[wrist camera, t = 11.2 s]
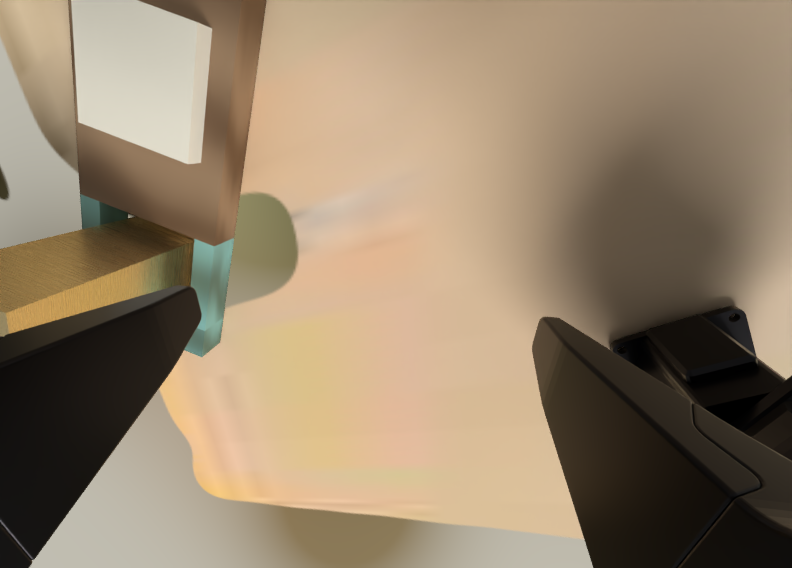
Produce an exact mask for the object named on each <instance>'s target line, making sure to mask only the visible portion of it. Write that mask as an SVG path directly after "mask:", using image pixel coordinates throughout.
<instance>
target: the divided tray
mask: <svg viewBox="0 0 792 568" xmlns="http://www.w3.org/2000/svg"><path fill="white" fill-rule="evenodd" d="M68 4H69V20H70V36H71V53H72V69H73V85H74V101H75V118H76V134H77V150H78V167H79V183H80V197H81V214H82V229H86V228H90V227H95V226H99V225H103V224H107V223H111V222H115V221H120V220H124V219H128V213H130V214H133V215H135V216H138V217H140V218H143V219H145V220H148V221H150V222H153V223H156V224H158V225H161V226H163V227H166V228H168V229H171V230H173V231H176V232H179V233H181V234H184V235H186V236H189V237H191V238H194V251H193V263H192V275H191V287H193V288H194V289H195V290H196V293H197V297H198V301H199V305H200V309H201V313H202V317H201V321H200V324H199V325H198V327H197V329H196V330H195V332H194V334H193V336H192V337H191V339H190V341H189V342H188V344H187V346H186V348H185V349H184V350H186V351H188V352H191V353H193V354H195V355H198V356H200V357H203V356H204V355H205V354H206V353H208V352H209V351H210V350H211V349H212V348H214V347H215V346H216V345H217V344H218V343H220V338H221V331H222V324H223V316H224V309H225V301H226V294H227V287H228V279H229V271H230V264H231V257H232V250H233V242H234V234H235V227H236V220H237V212H238V205H239V198H240V191H241V183H242V176H243V168H244V161H245V154H246V146H247V139H248V131H249V124H250V117H251V109H252V102H253V94H254V87H255V80H256V72H257V65H258V58H259V50H260V43H261V35H262V28H263V21H264V13H265V6H266V0H68Z"/></svg>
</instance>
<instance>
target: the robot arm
mask: <svg viewBox="0 0 792 568" xmlns="http://www.w3.org/2000/svg"><path fill="white" fill-rule="evenodd" d="M732 314H735V315H734V316H733V317H732V318H729V316H730V315H732ZM201 317H202V313H201V309H200V305H199V301H198V297H197V293H196V290H195V289H194V288H193V287H191V286H181V285H176V286H172V287H169V288H166V289H162V290H159V291H155V292H152V293H148V294H145V295H141V296H138V297H134V298H131V299H128V300H124V301H121V302H117V303H114V304H110V305H107V306H103V307H100V308H96V309H93V310H89V311H86V312H83V313H79V314H76V315H72V316H69V317H65V318H62V319H58V320H55V321H51V322H48V323H44V324H41V325H38V326H34V327H31V328H27V329H24V330H20V331H17V332H13V333H10V334H7V335H5V336H4V337H3V336H0V568H29V567H30V565H31V564H32V560H34V559H35V558H36V556H37V555H38V554H39V552H40V551H41V550H42V548H43V547H44V545H45V544H46V543H47V541H48V540H49V539H50V537H51V536H52V534H53V533H54V532H55V530H56V529H57V528H58V526H59V525H60V523H61V522H62V521H63V519H64V518H65V517H66V515H67V514H68V512H69V511H70V510H71V508H72V507H73V506H74V504H75V503H76V502H77V500H78V499H79V497H80V496H81V495H82V493H83V492H84V490H85V489H86V488H87V486H88V485H89V484H90V482H91V481H92V480H93V478H94V477H95V475H96V474H97V473H98V471H99V470H100V468H101V467H102V466H103V464H104V463H105V461H106V460H107V459H108V458H109V456H110V455H111V453H112V452H113V451H114V449H115V448H116V446H117V445H118V444H119V442H120V441H121V440H122V438H123V437H124V435H125V434H126V433H127V431H128V430H129V429H130V427H131V426H132V425H133V423H134V422H135V420H136V419H137V418H138V416H139V415H140V414H141V412H142V411H143V410H144V408H145V407H146V405H147V404H148V403H149V401H150V400H151V398H152V397H153V396H154V394H155V393H156V392H157V390H158V389H159V388H160V386H161V385H162V383H163V382H164V381H165V379H166V378H167V377H168V375H169V374H170V372H171V371H172V369H173V368H174V366H175V365H176V363H177V361H178V360H179V358H180V356H181V355H182V353H183V351H184V349H185V348H186V346H187V344H188V342H189V341H190V339H191V337H192V336H193V334H194V332H195V330H196V329H197V327H198V325H199V324H200V321H201ZM623 346H624V348H623V349H622V350H618V348H619V347H623ZM610 349H611V350H609V349H608V348H606V347H604V346H603V345H601V344H600V343H598V342H596V341H595V340H593V339H592V338H590V337H588V336H587V335H585V334H584V333H582V332H580V331H579V330H577V329H576V328H574V327H572V326H571V325H569V324H568V323H566V322H564V321H563V320H561V319H560V318H554V317H542V318H541V319H540V321H539V323H538V327H537V330H536V334H535V337H534V341H533V346H532V352H533V358H534V363H535V369H536V374H537V380H538V385H539V390H540V396H541V401H542V405H543V409H544V412H545V416H546V419H547V422H548V425H549V428H550V431H551V435H552V438H553V441H554V444H555V447H556V450H557V454H558V457H559V460H560V463H561V466H562V470H563V473H564V476H565V479H566V482H567V485H568V489H569V492H570V495H571V498H572V501H573V504H574V508H575V511H576V514H577V517H578V520H579V523H580V527H581V530H582V533H583V536H584V539H585V542H586V546H587V549H588V552H589V555H590V558H591V561H592V565H593V568H792V376H791V377H789V378H788V379H787V380H786V379H785V378H783V377H782V376H781V375H779V374H778V373H777V372H775V371H774V370H773V369H772V368H770V367H769V366H768V365H766V364H765V363H764V362H762V361H761V360H760V359H758V358H757V357H756V353H755V349H754V345H753V341H752V337H751V333H750V330H749V326H748V322H747V318H746V314H745V313H744V311H742V310H740V309H739V308H737V307H735V306H728V307H724V308H721V309H718V310H714V311H711V312H708V313H704V314H701V315H695V316H692V317H688V318H685V319H682V320H679V321H675V322H672V323H669V324H665V325H662V326H659V327H655V328H652V329H649V330H648V331H644V332H641V333H638V334H634V335H631V336H628V337H624V338H621V339H618V340H615V341H614V342H612V343H611V346H610Z"/></svg>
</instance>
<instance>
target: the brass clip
mask: <svg viewBox="0 0 792 568" xmlns="http://www.w3.org/2000/svg"><path fill="white" fill-rule="evenodd" d="M193 251H194V238H191V237H189V236H186V235H184V234H181V233H179V232H176V231H173V230H171V229H168V228H166V227H163V226H161V225H158V224H156V223H153V222H150V221H148V220H145V219H143V218H140V217H138V216H136V217H132V218H128V219H124V220H120V221H115V222H111V223H107V224H103V225H99V226H95V227H90V228H86V229H82V230H78V231H74V232H69V233H66V234H61V235H57V236H53V237H49V238H45V239H40V240H36V241H32V242H28V243H24V244H19V245H16V246H11V247H7V248H3V249H0V336H3V337H4V336H5V335H7V334H10V333H13V332H17V331H20V330H24V329H27V328H31V327H34V326H38V325H41V324H44V323H48V322H51V321H55V320H58V319H62V318H65V317H69V316H72V315H76V314H79V313H83V312H86V311H89V310H93V309H96V308H100V307H103V306H107V305H110V304H114V303H117V302H121V301H124V300H128V299H131V298H134V297H138V296H141V295H145V294H148V293H152V292H155V291H159V290H162V289H166V288H169V287H172V286H176V285H181V286H191V275H192V263H193Z"/></svg>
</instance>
